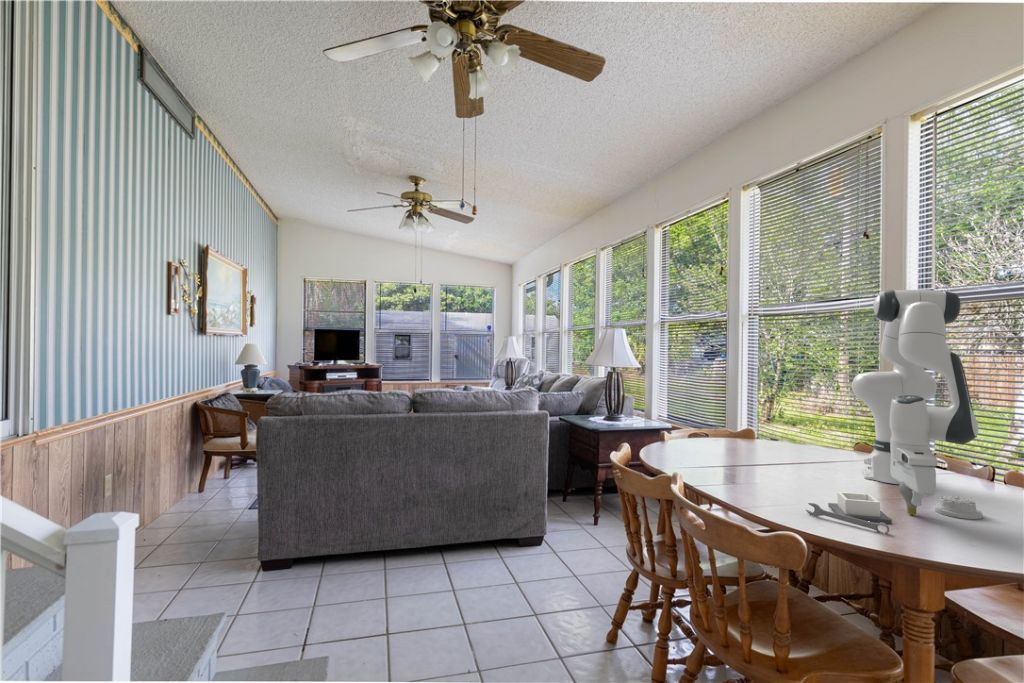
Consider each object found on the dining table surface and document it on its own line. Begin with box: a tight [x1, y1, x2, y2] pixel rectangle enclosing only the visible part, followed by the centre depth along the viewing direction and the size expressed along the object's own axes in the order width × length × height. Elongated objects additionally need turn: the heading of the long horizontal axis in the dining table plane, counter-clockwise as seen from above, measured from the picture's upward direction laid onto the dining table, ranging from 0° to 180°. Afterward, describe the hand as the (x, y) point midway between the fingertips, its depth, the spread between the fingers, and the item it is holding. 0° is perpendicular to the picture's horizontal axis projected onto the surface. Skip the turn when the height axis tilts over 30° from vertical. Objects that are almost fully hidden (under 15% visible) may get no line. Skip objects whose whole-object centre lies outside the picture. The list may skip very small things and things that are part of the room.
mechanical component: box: [934, 495, 983, 520], centre depth 139 cm, size 10×4×10 cm
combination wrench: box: [805, 502, 890, 535], centre depth 133 cm, size 4×1×20 cm
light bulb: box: [898, 481, 918, 516], centre depth 139 cm, size 6×6×10 cm
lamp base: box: [827, 491, 893, 524], centre depth 140 cm, size 12×12×5 cm
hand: (911, 502), depth 139 cm, fingers closed on light bulb, 4 cm apart
